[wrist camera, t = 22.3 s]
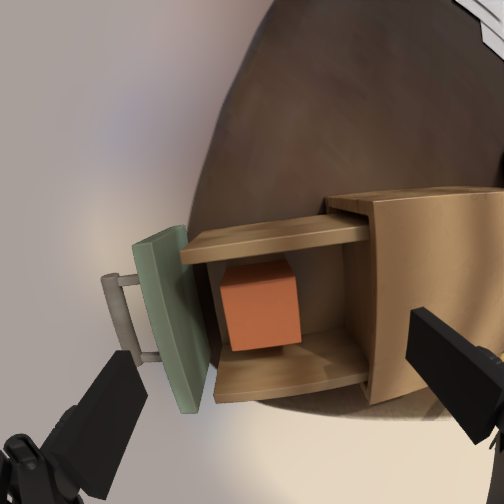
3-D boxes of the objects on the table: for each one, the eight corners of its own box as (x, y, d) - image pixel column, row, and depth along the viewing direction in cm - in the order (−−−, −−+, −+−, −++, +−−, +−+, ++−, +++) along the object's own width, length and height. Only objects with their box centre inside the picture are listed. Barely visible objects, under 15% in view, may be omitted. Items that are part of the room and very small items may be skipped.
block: (235, 322, 22) (232, 352, 18) (225, 267, 21) (219, 287, 17) (292, 314, 22) (301, 342, 18) (286, 258, 21) (295, 276, 17)
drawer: (152, 357, 24) (123, 411, 16) (120, 235, 22) (66, 256, 14) (350, 334, 24) (383, 386, 16) (343, 202, 21) (388, 209, 14)
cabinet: (334, 338, 25) (369, 405, 15) (324, 196, 22) (372, 201, 13) (457, 306, 24) (514, 345, 15) (460, 185, 22) (532, 190, 12)
